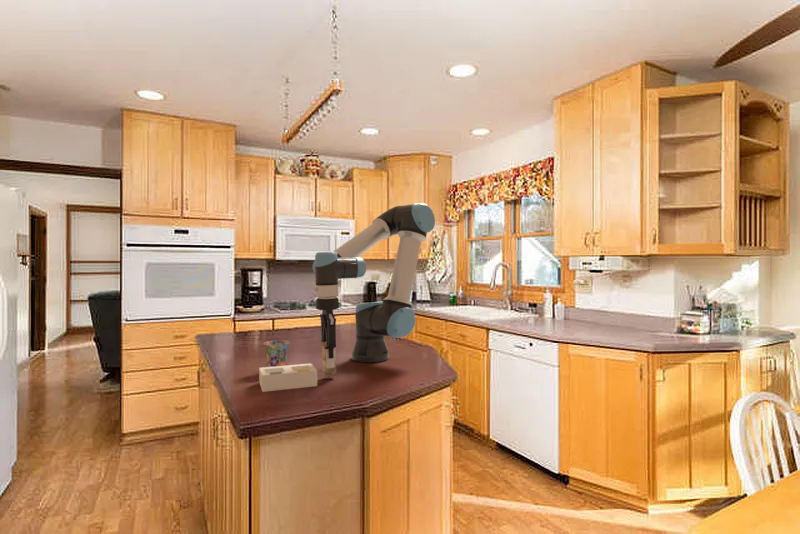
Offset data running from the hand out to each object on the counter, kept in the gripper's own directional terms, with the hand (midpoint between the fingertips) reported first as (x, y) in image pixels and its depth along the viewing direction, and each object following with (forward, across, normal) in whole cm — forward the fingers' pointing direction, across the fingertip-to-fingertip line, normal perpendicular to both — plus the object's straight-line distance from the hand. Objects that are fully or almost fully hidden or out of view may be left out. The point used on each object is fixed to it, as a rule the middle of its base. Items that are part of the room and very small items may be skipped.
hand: (329, 365), depth 156 cm
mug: (+4, -18, -16) cm, 24 cm away
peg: (+3, 0, 0) cm, 3 cm away
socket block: (+4, +2, -14) cm, 15 cm away
